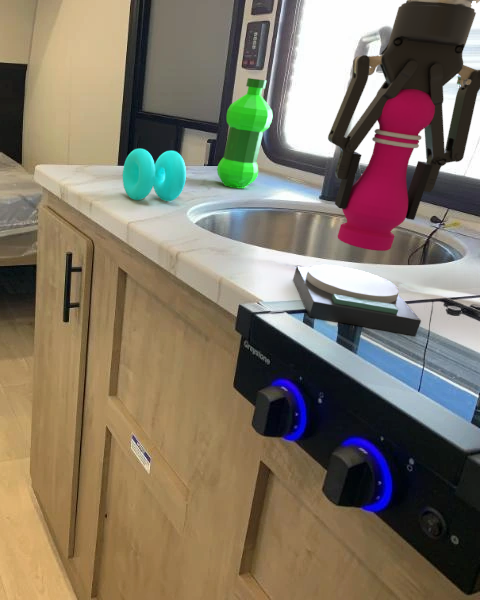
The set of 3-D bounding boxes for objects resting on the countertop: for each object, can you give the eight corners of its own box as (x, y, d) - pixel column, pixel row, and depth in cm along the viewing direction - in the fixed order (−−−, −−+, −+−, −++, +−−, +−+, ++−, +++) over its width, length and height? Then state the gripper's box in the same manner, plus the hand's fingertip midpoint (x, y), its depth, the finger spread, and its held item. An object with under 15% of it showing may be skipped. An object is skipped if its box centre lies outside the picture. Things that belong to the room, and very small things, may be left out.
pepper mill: (378, 255, 70) (437, 73, 62) (322, 237, 75) (371, 67, 67) (404, 249, 74) (463, 79, 67) (350, 232, 79) (399, 72, 72)
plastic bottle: (205, 180, 151) (226, 75, 142) (241, 182, 154) (264, 80, 145) (225, 189, 142) (249, 78, 133) (263, 191, 146) (289, 83, 136)
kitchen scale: (382, 294, 82) (389, 274, 81) (415, 336, 69) (424, 312, 68) (293, 279, 83) (298, 259, 82) (308, 317, 71) (315, 293, 69)
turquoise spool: (183, 206, 119) (193, 156, 115) (138, 205, 115) (147, 153, 111) (159, 194, 127) (167, 146, 123) (117, 193, 123) (124, 143, 120)
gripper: (349, -11, 62) (293, 204, 71) (557, 12, 60) (473, 233, 68) (335, -3, 69) (285, 192, 78) (521, 18, 67) (448, 218, 75)
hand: (373, 211), depth 73 cm, fingers closed on pepper mill, 7 cm apart
